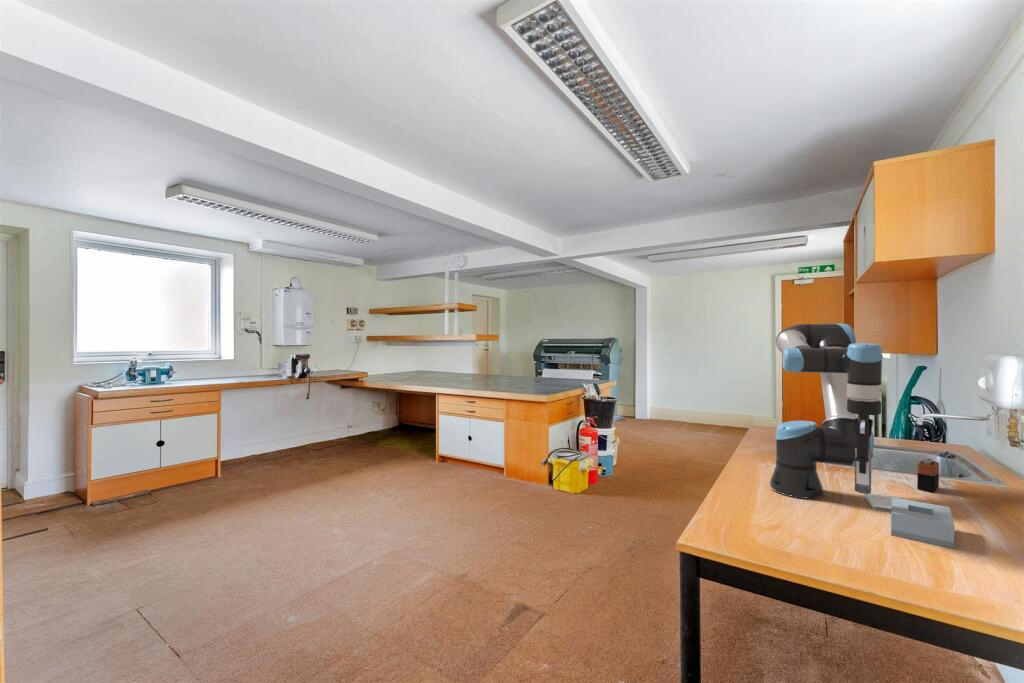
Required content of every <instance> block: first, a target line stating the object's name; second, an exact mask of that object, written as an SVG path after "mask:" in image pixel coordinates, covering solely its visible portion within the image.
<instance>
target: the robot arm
mask: <svg viewBox="0 0 1024 683" xmlns="http://www.w3.org/2000/svg"><path fill="white" fill-rule="evenodd" d="M856 340H857V338H856V334H855V331H854V329H853V328H852V327H851V325H849V324H846V323H837V322H833V323H799V324H794V325H791V326H788V327H786V328H784V329H783V330H781V331H780V332H779V333H778V334H777V336H776V338H775V345H776V347H777V349H778V351H779V352H781V353H782V357H781V358H782V368H783V370H784V371H785V372H788V373H789V372H790V373H795V374H798V373H815V374H816V373H818V374H819V373H820V381H821V389H822V390H821V391H822V397H823V404H824V413H825V419H824V420H823V421H822V423H821V426H818V424H817V423H816V421H815V422H814V421H811V420H789V421H784V422H780V423H778V425H777V426H776V429H775V430H776V431H775V441H776V442H775V451H776V452H775V467H774V470H773V472H772V476H771V478H770V482H769V486H771V487H772V488H773V489H775V490H776V491H778V492H781V493H784V494H787V495H792V496H797V497H807V498H806V499H809V498H810V499H816V498H815V497H819V498H821V497H823V496H824V488H823V485H822V482H821V479H820V477H819V474H818V471H817V463H823V464H831V465H833V464H834V465H842V466H850V467H855V461H857V468H856V484H862V485H868V486H869V459H868V452H869V449H871V450H872V453H871V460H872V459H873V457H874V450H875V449H874V447H875V436H874V433H873V430H872V428H873V425H874V420H873V419H871V418H870V416H879V415H881V413H882V401H881V399H882V393H883V392H885V388H884V387H882V377H883V376H882V374H883V373H882V371H883V369H882V368H883V358H884V356H883V351H882V349H883V348H882V346H881V344H880V343H879V344H878V343H872V342H868V343H867V342H863V343H862V342H857V341H856ZM855 448H857V457H856V458H855ZM778 492H777V493H778ZM787 495H786V496H787ZM820 496H821V497H820ZM797 497H796V498H797Z"/></svg>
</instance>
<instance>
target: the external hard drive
mask: <svg viewBox="0 0 1024 683" xmlns="http://www.w3.org/2000/svg"><path fill="white" fill-rule="evenodd" d="M863 497H864V498H865V497H866V498H865V499H866V501H867V500H868V501H867V502H868V504H869V503H870V504H869V505H870V507H871V506H872V507H873V508H872V507H871V508H872V509H873V510H874V509H876V510H875V511H879V510H882V511H881V512H886V511H890V512H889V513H891V508H892V497H894V498H897V496H894V495H893V496H892V495H885V494H877V493H876V494H875V493H870V494H863Z"/></svg>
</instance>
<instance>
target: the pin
mask: <svg viewBox="0 0 1024 683" xmlns="http://www.w3.org/2000/svg"><path fill="white" fill-rule="evenodd" d="M871 453H872V450H871V449H869V452H868V459H869V486H868V485H862V484H856V468H857V461H855V466H854V491H855V492H857V493H859V494H863V495H864V494H872V459H871ZM856 457H857V448H855V458H856Z"/></svg>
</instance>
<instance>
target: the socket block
mask: <svg viewBox="0 0 1024 683" xmlns="http://www.w3.org/2000/svg"><path fill="white" fill-rule="evenodd" d="M894 497H895V496H894ZM894 497H892V508H891V512H890V513H891V514H890V520H891V522H890V523H891V524H890V526H891V527H890V535H891V536H893V535H894V537H898V538H903V539H907V540H912V541H917V542H922V543H924V544H931V545H935V546H939V547H944V548H949V549H955V522H954V519H953V515H952V512H951V507H950V506H944V505H940V504H939V505H938V504H932V503H928V502H921V501H917V500H916V501H915V500H910V499H906V498H900V497H896V498H894Z"/></svg>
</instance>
